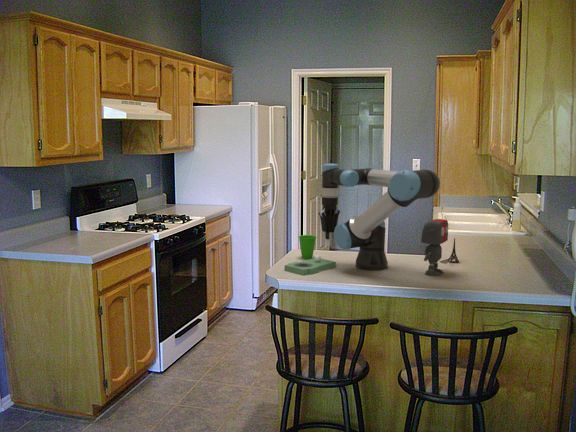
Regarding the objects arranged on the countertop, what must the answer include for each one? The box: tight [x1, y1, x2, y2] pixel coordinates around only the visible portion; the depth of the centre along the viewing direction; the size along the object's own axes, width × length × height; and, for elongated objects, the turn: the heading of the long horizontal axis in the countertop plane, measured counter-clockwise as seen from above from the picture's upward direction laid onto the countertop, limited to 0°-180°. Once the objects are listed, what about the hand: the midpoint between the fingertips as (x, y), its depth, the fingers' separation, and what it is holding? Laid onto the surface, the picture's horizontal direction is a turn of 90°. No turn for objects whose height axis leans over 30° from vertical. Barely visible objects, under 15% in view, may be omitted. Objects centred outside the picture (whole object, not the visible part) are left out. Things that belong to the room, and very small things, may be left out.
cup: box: [298, 234, 317, 260], centre depth 283 cm, size 9×9×11 cm
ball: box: [314, 254, 322, 262], centre depth 265 cm, size 3×3×3 cm
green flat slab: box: [284, 257, 337, 276], centre depth 262 cm, size 22×14×2 cm, turn 135°
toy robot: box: [420, 207, 449, 277], centre depth 253 cm, size 22×9×30 cm, turn 148°
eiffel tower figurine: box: [439, 237, 461, 267], centre depth 277 cm, size 15×10×13 cm
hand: (328, 245), depth 270 cm, fingers closed
